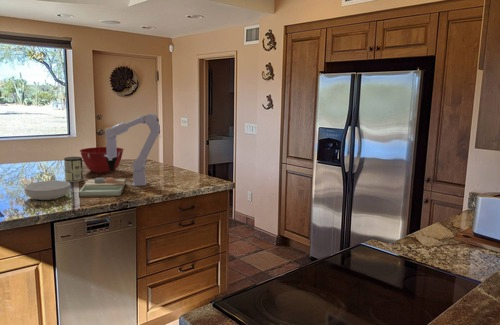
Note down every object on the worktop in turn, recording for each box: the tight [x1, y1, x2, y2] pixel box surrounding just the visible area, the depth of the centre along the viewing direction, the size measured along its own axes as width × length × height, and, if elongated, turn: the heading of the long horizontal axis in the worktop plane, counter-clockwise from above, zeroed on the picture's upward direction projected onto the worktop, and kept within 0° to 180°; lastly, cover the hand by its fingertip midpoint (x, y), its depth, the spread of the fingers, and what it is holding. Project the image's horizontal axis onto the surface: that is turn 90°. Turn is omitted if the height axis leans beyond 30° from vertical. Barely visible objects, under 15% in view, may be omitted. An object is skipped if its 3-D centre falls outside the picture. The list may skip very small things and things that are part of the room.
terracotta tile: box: [105, 177, 117, 183], centre depth 226 cm, size 5×5×2 cm
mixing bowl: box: [79, 146, 125, 174], centre depth 267 cm, size 28×28×15 cm
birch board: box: [82, 178, 126, 189], centre depth 226 cm, size 16×21×3 cm
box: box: [78, 186, 124, 198], centre depth 212 cm, size 13×21×3 cm, turn 103°
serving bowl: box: [23, 180, 71, 201], centre depth 199 cm, size 21×21×7 cm
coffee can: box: [63, 156, 84, 183], centre depth 239 cm, size 10×10×14 cm
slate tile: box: [94, 177, 106, 183], centre depth 225 cm, size 5×5×2 cm
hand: (112, 170), depth 233 cm, fingers open, 2 cm apart
